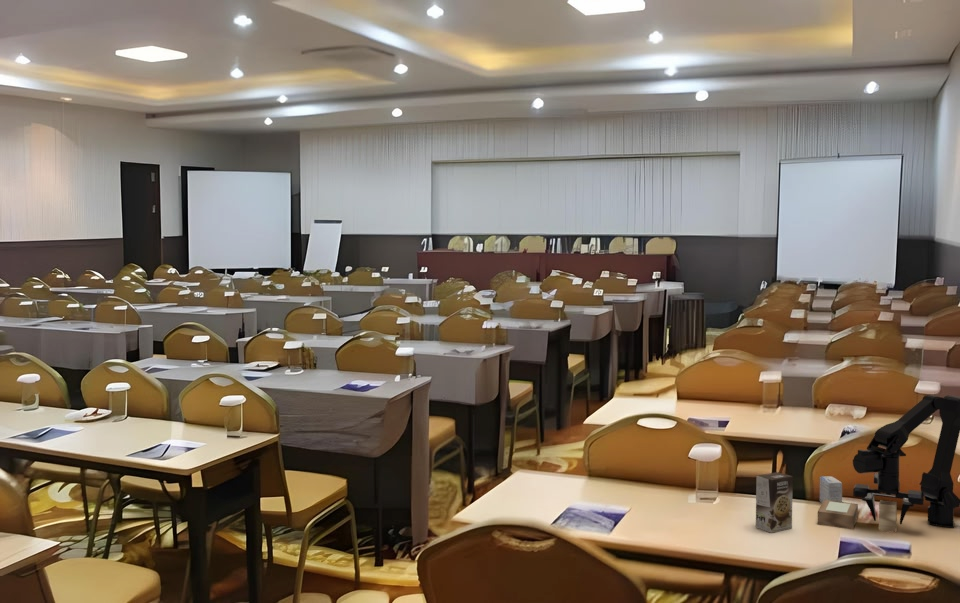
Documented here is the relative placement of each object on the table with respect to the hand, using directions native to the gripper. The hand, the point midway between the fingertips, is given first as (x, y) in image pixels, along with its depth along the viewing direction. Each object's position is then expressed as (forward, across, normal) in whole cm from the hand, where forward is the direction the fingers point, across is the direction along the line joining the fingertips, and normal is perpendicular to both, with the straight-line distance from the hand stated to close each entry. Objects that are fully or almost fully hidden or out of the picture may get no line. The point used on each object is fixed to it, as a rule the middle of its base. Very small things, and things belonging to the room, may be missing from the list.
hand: (887, 522), depth 245 cm
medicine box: (+2, +18, -18) cm, 26 cm away
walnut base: (+2, +14, -2) cm, 14 cm away
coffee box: (+2, +30, +15) cm, 34 cm away
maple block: (+2, 0, 0) cm, 2 cm away
